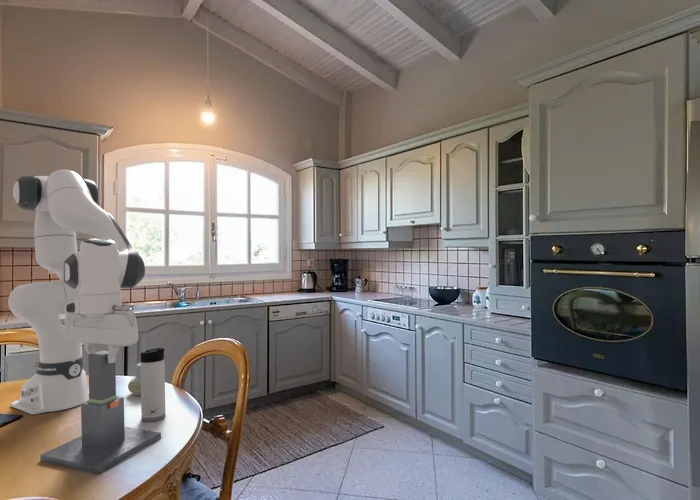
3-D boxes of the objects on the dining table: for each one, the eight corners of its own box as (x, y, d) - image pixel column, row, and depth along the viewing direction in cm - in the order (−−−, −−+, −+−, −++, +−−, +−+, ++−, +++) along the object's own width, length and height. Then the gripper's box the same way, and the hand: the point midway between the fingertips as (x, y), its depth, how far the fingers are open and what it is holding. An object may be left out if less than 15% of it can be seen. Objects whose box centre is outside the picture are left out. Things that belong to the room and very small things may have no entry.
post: (89, 420, 102) (87, 354, 102) (104, 414, 106) (102, 350, 106) (102, 423, 101) (100, 355, 101) (117, 416, 105) (115, 351, 105)
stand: (40, 461, 98) (39, 409, 98) (108, 429, 115) (107, 385, 115) (98, 474, 92) (97, 418, 92) (161, 438, 109) (160, 391, 109)
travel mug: (157, 422, 119) (155, 351, 119) (136, 421, 120) (135, 350, 120) (171, 414, 125) (169, 346, 125) (151, 412, 126) (149, 345, 126)
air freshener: (123, 395, 142) (123, 365, 142) (143, 387, 150) (143, 359, 150) (149, 398, 138) (148, 368, 138) (168, 390, 146) (167, 361, 146)
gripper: (144, 304, 103) (145, 361, 103) (82, 302, 110) (83, 355, 110) (122, 308, 97) (123, 368, 97) (58, 305, 104) (60, 362, 104)
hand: (102, 361), depth 104 cm, fingers closed on post, 4 cm apart
